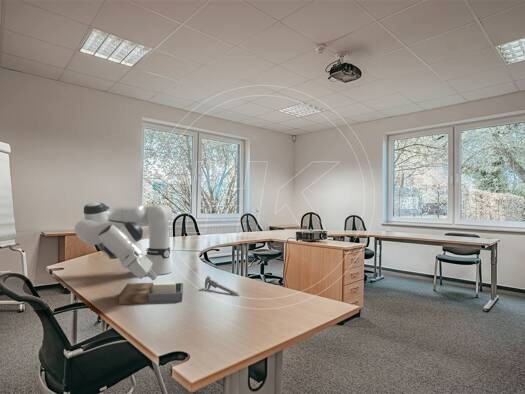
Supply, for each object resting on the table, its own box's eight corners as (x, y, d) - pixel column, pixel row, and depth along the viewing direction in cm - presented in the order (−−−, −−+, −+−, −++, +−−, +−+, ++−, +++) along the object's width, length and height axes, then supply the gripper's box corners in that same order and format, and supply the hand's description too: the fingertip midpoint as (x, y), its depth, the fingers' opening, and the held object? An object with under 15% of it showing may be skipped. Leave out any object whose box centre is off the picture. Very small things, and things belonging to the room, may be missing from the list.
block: (153, 284, 134) (175, 284, 136) (154, 281, 139) (175, 281, 141) (152, 296, 134) (174, 295, 136) (154, 293, 139) (175, 292, 141)
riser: (119, 304, 126) (119, 294, 126) (127, 292, 142) (127, 283, 142) (148, 302, 128) (148, 293, 128) (153, 291, 144) (153, 282, 144)
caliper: (204, 288, 152) (204, 275, 152) (206, 288, 153) (206, 275, 153) (238, 296, 141) (239, 282, 141) (240, 296, 142) (240, 282, 142)
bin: (148, 302, 129) (149, 294, 129) (153, 291, 144) (153, 283, 144) (181, 301, 131) (182, 293, 131) (183, 290, 147) (183, 283, 147)
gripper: (130, 257, 144) (152, 277, 146) (121, 266, 124) (146, 290, 126) (141, 247, 145) (163, 268, 147) (133, 255, 125) (158, 279, 127)
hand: (155, 278), depth 137 cm, fingers closed
